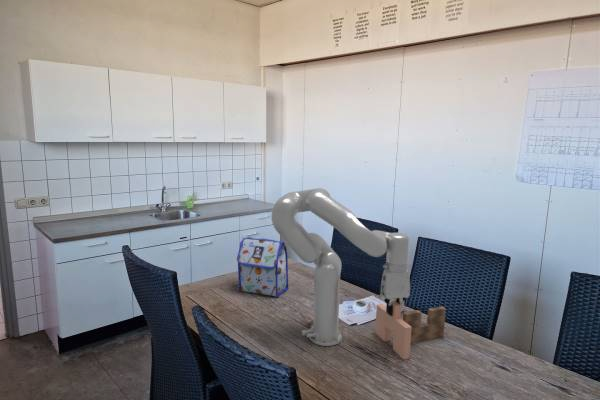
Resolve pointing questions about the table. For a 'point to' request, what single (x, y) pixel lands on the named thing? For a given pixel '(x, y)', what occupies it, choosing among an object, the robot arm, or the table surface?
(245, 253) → the lunch bag
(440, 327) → the board
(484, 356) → the table surface
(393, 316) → the pink notched panel
